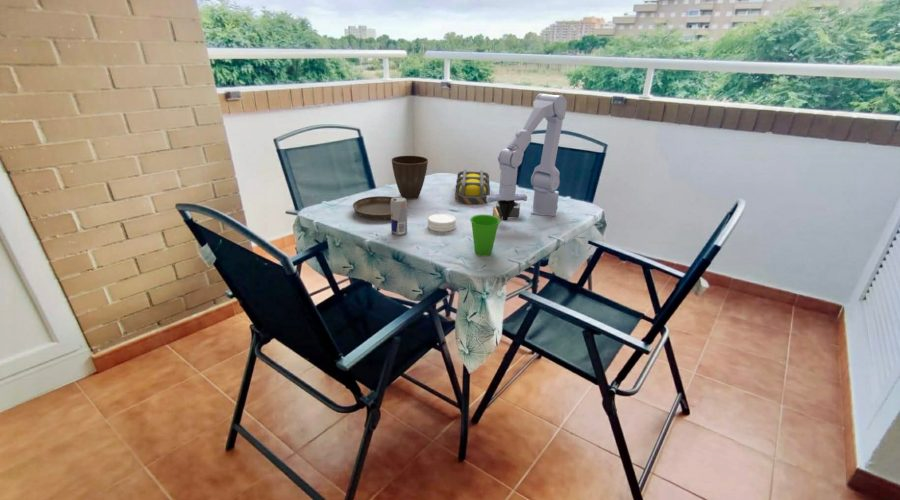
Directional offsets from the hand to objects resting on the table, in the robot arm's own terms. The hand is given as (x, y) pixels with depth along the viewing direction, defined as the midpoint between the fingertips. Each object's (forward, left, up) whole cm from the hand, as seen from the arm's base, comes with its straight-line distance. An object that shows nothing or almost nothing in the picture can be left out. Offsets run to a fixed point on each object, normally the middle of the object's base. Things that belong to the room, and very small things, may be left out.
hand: (504, 219), depth 157 cm
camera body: (0, -11, -2) cm, 11 cm away
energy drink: (+35, +17, -2) cm, 39 cm away
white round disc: (+22, +8, -2) cm, 23 cm away
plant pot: (+42, -22, -2) cm, 47 cm away
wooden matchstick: (+3, -3, -1) cm, 4 cm away
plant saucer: (+48, -1, -2) cm, 48 cm away
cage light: (+17, -33, -2) cm, 37 cm away
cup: (+5, +26, -2) cm, 27 cm away
